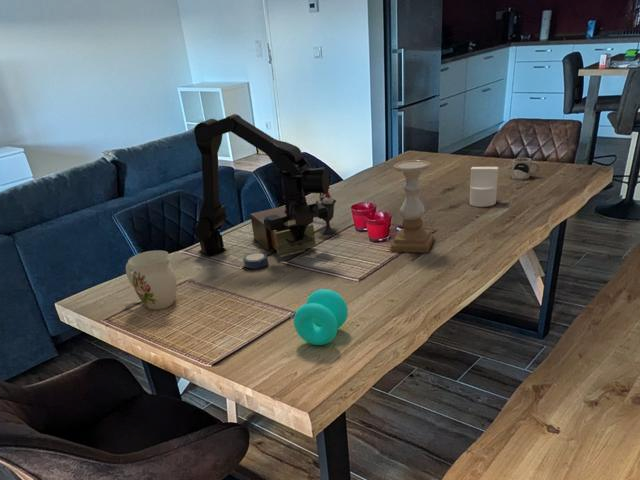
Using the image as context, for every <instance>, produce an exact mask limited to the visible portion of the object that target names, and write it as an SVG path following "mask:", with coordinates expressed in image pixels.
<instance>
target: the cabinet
mask: <svg viewBox="0 0 640 480" xmlns="http://www.w3.org/2000/svg"><path fill="white" fill-rule="evenodd" d="M285 210H286V208H285V205H283V206H279V207H274V208H269V209H264V210H260V211H256V212H252V213H249V216H250V221H251V228H252V234H253V239H254V240H255V242H257V243H258V244H259V245H261V246H262V247H263V248H264V249H265V250H267V252H271V251H274V250H275V251H276V249H274V248H273V247H272V246H271V245H270V241H269V234H268V228H267V227H265V226H264V218H265V217H266V216H270V215H275V214H276V215H278V216H279V217H283V216H286V214H285Z"/></svg>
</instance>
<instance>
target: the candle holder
mask: <svg viewBox="0 0 640 480" xmlns="http://www.w3.org/2000/svg"><path fill="white" fill-rule="evenodd" d="M430 168H431V162H430V161H428V160H422V159H409V160H403V161H400V162H397V163H394V165H393V169H394V170H395V172H400V173H402V175H403V177H404V178H405V183H404V184H403V187H402V189H403V191H404V192H405V194H406V196H405V199H404V201H403V202H402V203H401V206H400V208H399V215H400V216H401V217H402V219H403V220H402V222H401V225H402V228H401V229H400V230H399V231H398V232H397V234H396V235H395V237H394V240H393V241H392V243H391V246H390V248H391V249H390V250H391V252H397V253H428V252H429V250H430V248H431V247H432V244H433V243H434V234H433V233H431V229H424V228H423V227H422V226H423V225H424V221H423V219H422V218H423V216H424V215H425V213H426V207H425V206H424V204H423V202H422V201H421V199H420V197H419V192H420V191H421V189H422V185H421V184H420V181H419V178H420V176H421V174H422V173H423V171H427V170H429V169H430Z"/></svg>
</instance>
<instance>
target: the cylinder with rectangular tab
mask: <svg viewBox="0 0 640 480" xmlns="http://www.w3.org/2000/svg"><path fill="white" fill-rule="evenodd" d="M498 178H499V166H472V167H471V168H470V180H469V181H470V185H469V202H468V203H469V205H470V206H472V207H476V208H477V207H478V208H479V207H480V208H485V207H491V206H494V205H495V204H497V192H498V191H497V189H498V180H499V179H498Z"/></svg>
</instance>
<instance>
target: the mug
mask: <svg viewBox="0 0 640 480" xmlns="http://www.w3.org/2000/svg"><path fill="white" fill-rule="evenodd" d="M533 165H535V166H536V171H532V172H531V168H532V167H531V166H533ZM540 169H541V165H540V162H539V161H533V160H532V158H529V157H517V158H513V159H512V167H511V179H512V180H517V181H523V180H528V179H530V176H537V175H538V174H539V173H540Z"/></svg>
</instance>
